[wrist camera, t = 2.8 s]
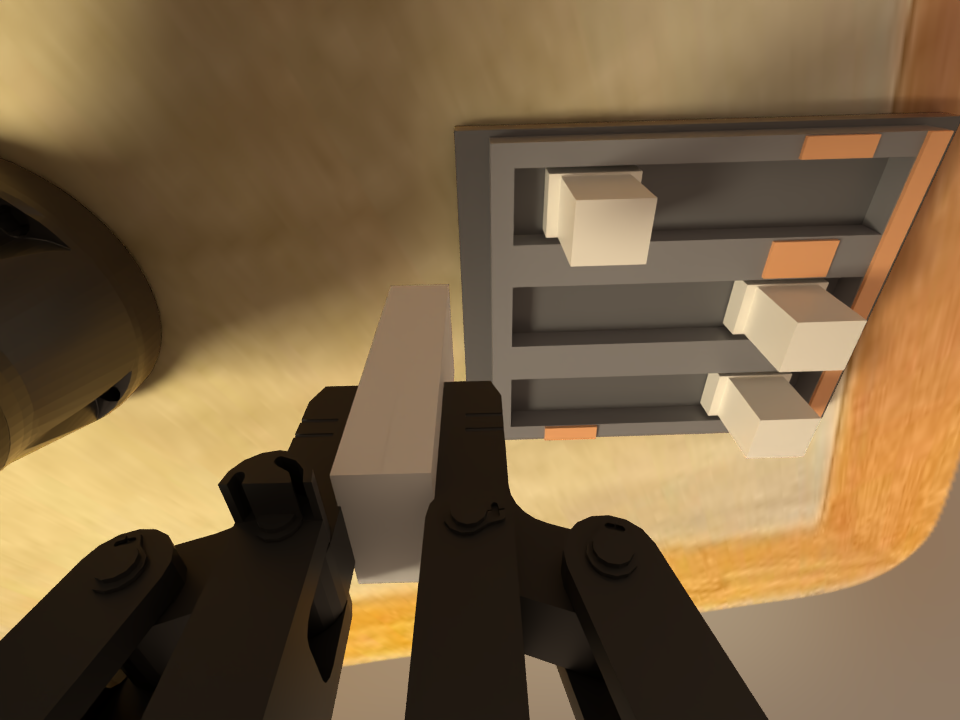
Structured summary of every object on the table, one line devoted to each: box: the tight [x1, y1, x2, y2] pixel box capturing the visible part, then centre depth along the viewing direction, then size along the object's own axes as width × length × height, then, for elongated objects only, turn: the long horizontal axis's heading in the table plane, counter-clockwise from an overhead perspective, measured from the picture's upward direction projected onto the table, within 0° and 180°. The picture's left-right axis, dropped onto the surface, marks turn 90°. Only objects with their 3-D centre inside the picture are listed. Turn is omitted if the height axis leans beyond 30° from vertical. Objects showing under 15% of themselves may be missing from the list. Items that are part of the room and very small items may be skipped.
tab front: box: [543, 165, 657, 267], centre depth 21 cm, size 4×3×5 cm
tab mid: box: [723, 278, 867, 372], centre depth 24 cm, size 4×3×5 cm
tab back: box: [700, 371, 821, 459], centre depth 27 cm, size 4×3×5 cm
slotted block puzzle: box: [454, 112, 960, 440], centre depth 26 cm, size 22×17×3 cm
